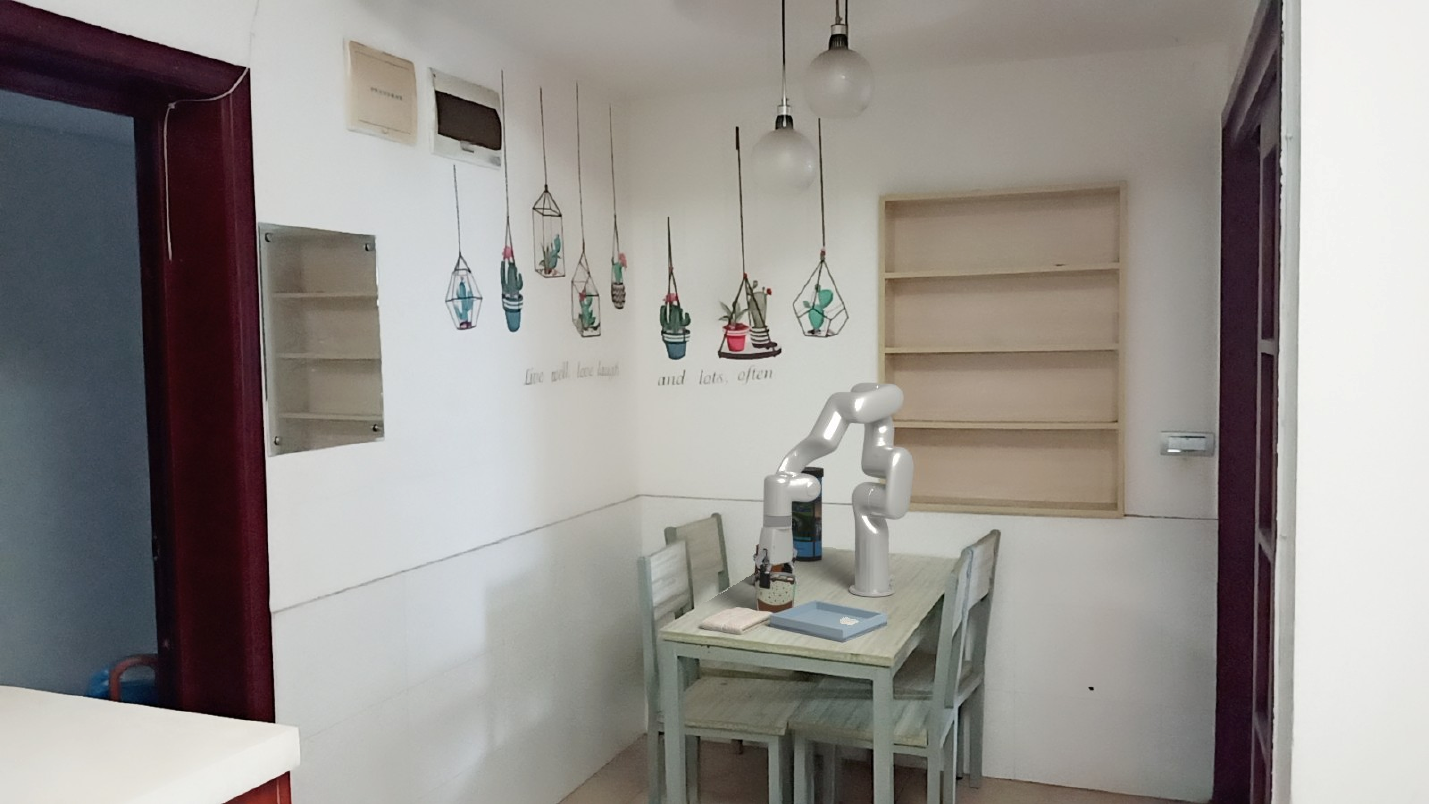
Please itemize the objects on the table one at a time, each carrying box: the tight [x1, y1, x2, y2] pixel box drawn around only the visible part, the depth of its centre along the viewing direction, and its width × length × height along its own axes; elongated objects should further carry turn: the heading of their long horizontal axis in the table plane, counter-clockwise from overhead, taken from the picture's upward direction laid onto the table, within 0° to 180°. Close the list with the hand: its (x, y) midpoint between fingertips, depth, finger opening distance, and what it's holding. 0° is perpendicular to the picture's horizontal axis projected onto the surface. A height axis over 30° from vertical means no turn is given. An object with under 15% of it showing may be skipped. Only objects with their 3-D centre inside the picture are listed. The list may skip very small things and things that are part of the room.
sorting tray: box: [769, 599, 888, 643], centre depth 268 cm, size 20×22×3 cm
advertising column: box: [791, 466, 825, 563], centre depth 350 cm, size 11×11×30 cm
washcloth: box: [700, 606, 773, 635], centre depth 270 cm, size 12×18×3 cm, turn 149°
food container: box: [752, 572, 799, 614], centre depth 283 cm, size 12×6×10 cm, turn 71°
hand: (775, 585), depth 282 cm, fingers open, 9 cm apart
